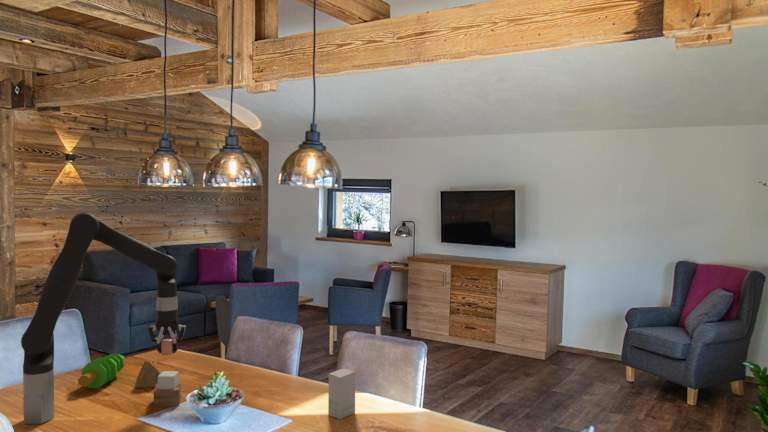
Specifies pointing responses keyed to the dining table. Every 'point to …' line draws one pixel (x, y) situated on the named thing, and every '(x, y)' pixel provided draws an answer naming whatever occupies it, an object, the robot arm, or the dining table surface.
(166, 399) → the walnut block
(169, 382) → the grey block
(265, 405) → the dining table surface
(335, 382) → the skincare box
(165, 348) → the pinkish tan cube
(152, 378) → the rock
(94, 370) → the decorative tree
